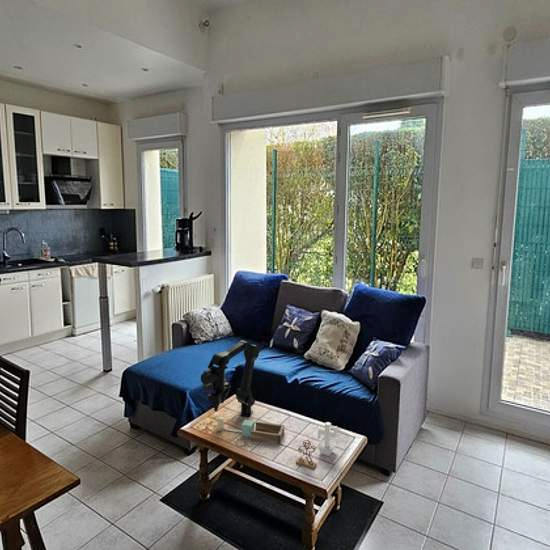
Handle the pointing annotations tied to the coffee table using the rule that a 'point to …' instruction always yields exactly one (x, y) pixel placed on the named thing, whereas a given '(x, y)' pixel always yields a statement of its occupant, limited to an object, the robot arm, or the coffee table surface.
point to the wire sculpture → (306, 462)
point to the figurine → (327, 439)
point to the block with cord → (246, 430)
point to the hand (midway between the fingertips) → (219, 407)
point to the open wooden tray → (266, 436)
